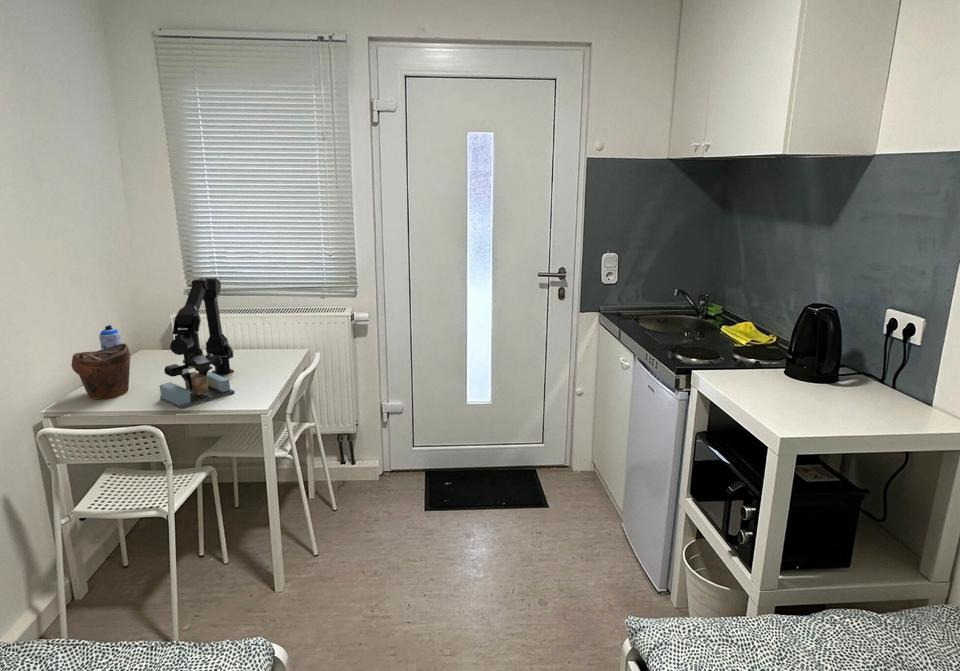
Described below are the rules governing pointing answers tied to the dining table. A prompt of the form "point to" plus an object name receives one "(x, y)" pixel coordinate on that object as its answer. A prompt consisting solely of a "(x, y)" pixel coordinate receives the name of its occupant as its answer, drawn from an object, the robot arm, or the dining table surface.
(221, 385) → the moving jaw
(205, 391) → the walnut block
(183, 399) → the block
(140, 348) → the dining table surface
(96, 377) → the brown tapered container
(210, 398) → the vise bed
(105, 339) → the aerosol can
